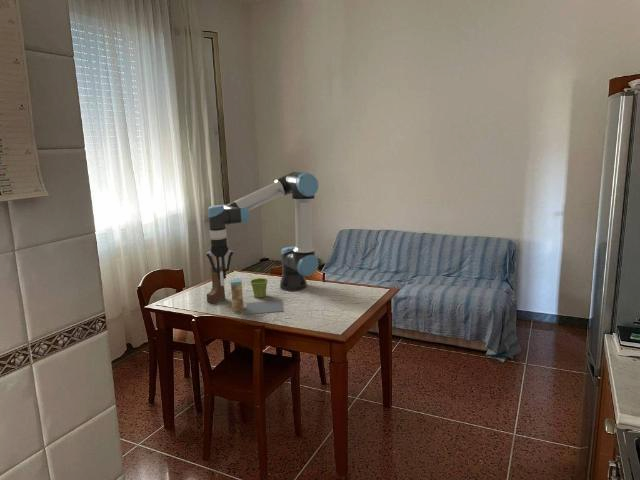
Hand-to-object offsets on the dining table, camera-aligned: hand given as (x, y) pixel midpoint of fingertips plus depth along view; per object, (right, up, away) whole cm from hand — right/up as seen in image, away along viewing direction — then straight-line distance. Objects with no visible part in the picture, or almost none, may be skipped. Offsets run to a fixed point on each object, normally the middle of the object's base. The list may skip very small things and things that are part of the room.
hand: (222, 285), depth 228 cm
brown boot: (-7, -10, +19) cm, 22 cm away
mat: (+20, -12, +5) cm, 24 cm away
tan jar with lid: (+7, -13, +4) cm, 15 cm away
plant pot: (+15, -8, +22) cm, 29 cm away
